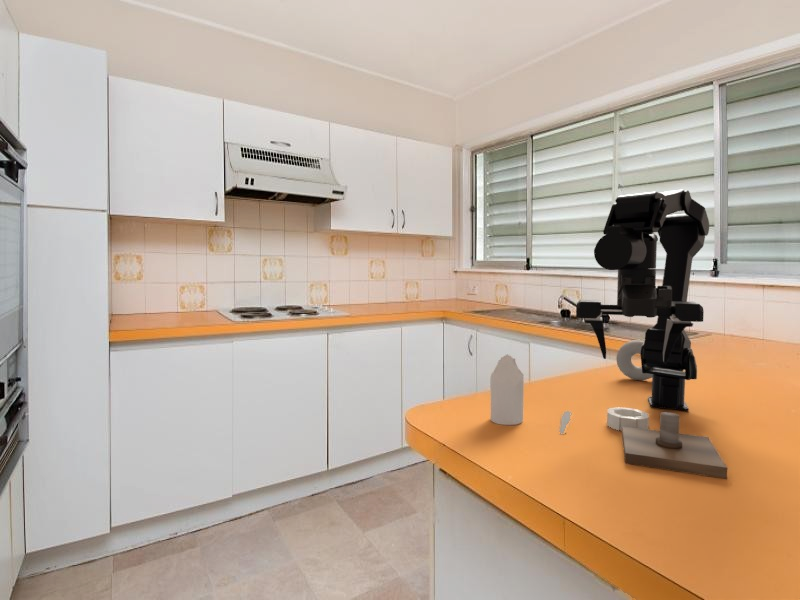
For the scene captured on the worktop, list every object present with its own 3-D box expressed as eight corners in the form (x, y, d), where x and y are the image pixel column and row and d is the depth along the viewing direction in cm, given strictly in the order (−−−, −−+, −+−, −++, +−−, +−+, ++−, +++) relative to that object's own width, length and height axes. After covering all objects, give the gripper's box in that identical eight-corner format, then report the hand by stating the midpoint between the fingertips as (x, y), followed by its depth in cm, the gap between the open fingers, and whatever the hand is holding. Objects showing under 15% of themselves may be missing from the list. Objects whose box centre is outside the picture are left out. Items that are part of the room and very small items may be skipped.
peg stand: (621, 435, 76) (623, 399, 75) (707, 446, 71) (709, 408, 71) (625, 463, 65) (626, 421, 64) (726, 478, 60) (729, 434, 60)
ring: (606, 418, 84) (607, 405, 84) (646, 423, 82) (646, 410, 81) (607, 429, 78) (607, 416, 78) (649, 435, 76) (650, 421, 76)
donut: (614, 379, 114) (615, 339, 114) (616, 376, 117) (617, 337, 116) (660, 384, 109) (662, 342, 108) (661, 381, 112) (663, 340, 111)
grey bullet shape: (497, 358, 79) (485, 352, 85) (496, 426, 80) (485, 416, 86) (529, 357, 80) (516, 351, 86) (528, 424, 81) (515, 414, 87)
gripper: (576, 270, 73) (574, 366, 75) (714, 269, 66) (709, 375, 67) (577, 269, 84) (576, 353, 85) (697, 268, 76) (693, 360, 78)
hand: (634, 360), depth 78 cm, fingers open, 9 cm apart
